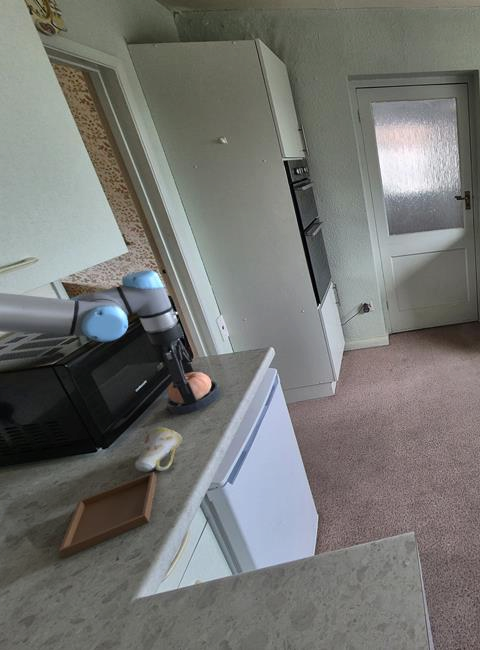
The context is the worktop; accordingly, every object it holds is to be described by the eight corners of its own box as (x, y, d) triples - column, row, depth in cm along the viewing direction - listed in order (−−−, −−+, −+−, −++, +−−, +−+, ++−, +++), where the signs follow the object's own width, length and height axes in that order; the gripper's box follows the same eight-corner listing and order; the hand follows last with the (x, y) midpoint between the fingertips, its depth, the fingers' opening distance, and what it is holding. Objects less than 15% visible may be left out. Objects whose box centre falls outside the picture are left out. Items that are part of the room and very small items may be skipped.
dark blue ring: (167, 420, 106) (163, 413, 105) (171, 397, 117) (168, 390, 116) (220, 402, 112) (217, 395, 111) (219, 381, 122) (217, 375, 121)
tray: (63, 558, 71) (57, 551, 70) (83, 506, 81) (78, 500, 80) (148, 521, 76) (145, 515, 76) (157, 477, 87) (153, 471, 86)
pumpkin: (172, 397, 115) (162, 375, 112) (213, 383, 121) (204, 361, 118) (174, 415, 107) (162, 392, 104) (217, 399, 113) (207, 376, 109)
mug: (128, 479, 88) (122, 435, 88) (171, 464, 97) (165, 424, 98) (151, 475, 85) (145, 431, 86) (192, 460, 95) (186, 420, 96)
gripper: (175, 338, 96) (205, 408, 105) (181, 309, 115) (207, 370, 124) (139, 348, 93) (173, 419, 102) (152, 316, 112) (180, 378, 121)
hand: (192, 392), depth 113 cm, fingers closed on dark blue ring, 11 cm apart
